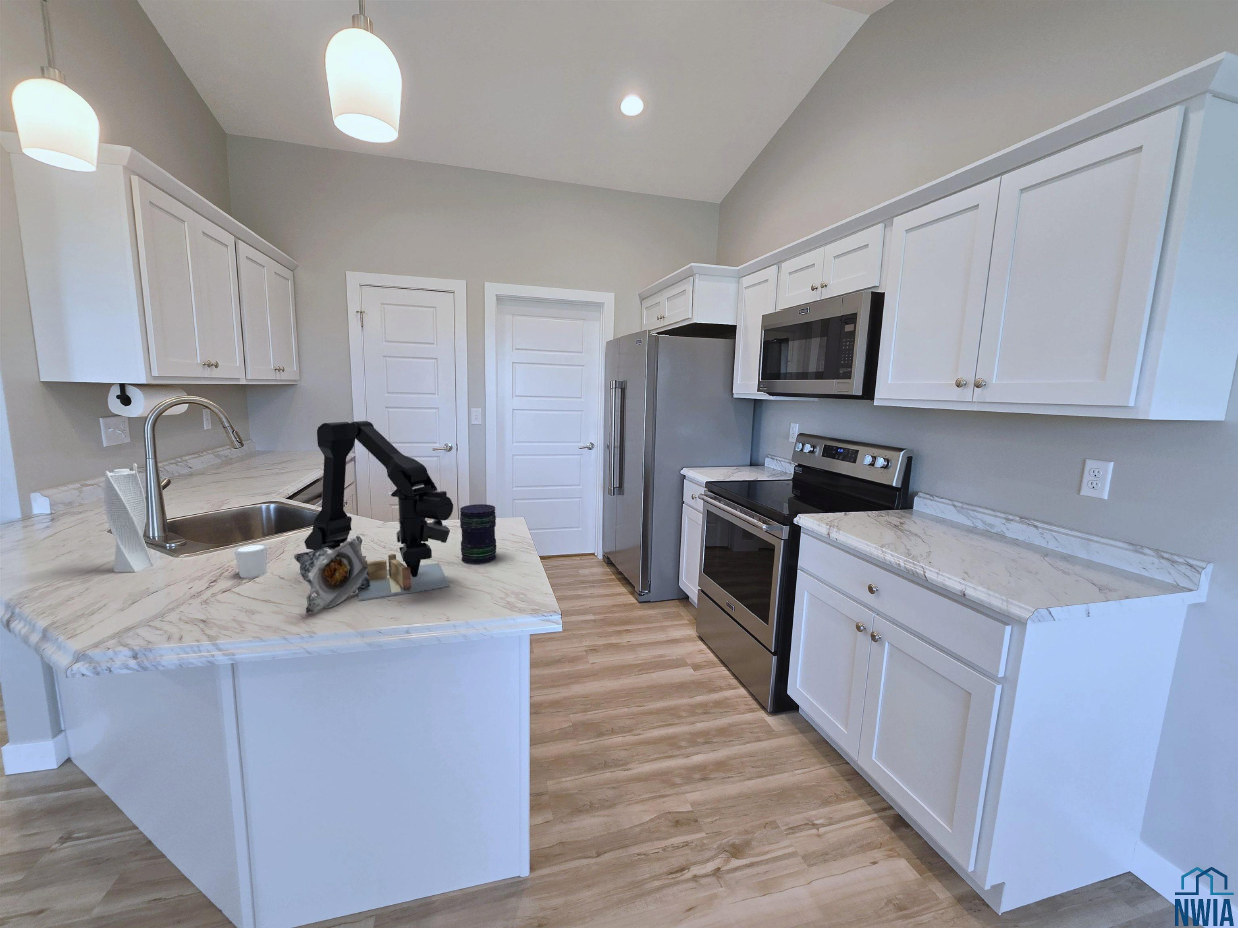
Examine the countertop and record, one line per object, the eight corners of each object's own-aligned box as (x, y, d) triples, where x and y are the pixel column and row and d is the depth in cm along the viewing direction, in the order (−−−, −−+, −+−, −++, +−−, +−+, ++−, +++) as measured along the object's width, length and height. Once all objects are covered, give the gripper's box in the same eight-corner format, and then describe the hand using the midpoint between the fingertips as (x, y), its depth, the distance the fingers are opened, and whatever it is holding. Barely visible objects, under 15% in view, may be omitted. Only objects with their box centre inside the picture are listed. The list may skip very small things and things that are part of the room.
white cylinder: (275, 571, 132) (273, 546, 131) (247, 580, 125) (244, 553, 124) (259, 567, 134) (257, 542, 133) (230, 575, 128) (228, 549, 127)
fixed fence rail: (360, 582, 125) (359, 563, 124) (360, 579, 126) (359, 560, 125) (387, 578, 127) (386, 559, 127) (387, 576, 129) (386, 557, 128)
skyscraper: (162, 563, 136) (150, 461, 132) (137, 573, 128) (123, 465, 124) (132, 563, 135) (119, 461, 131) (105, 573, 128) (90, 465, 124)
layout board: (358, 601, 115) (358, 599, 115) (358, 574, 130) (357, 573, 130) (449, 586, 124) (449, 585, 124) (438, 563, 140) (438, 562, 140)
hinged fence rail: (388, 575, 129) (387, 555, 128) (395, 573, 130) (394, 553, 129) (404, 590, 120) (403, 568, 119) (412, 588, 121) (411, 566, 120)
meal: (357, 585, 122) (351, 534, 120) (371, 588, 121) (365, 535, 119) (300, 612, 108) (293, 555, 106) (315, 615, 107) (308, 557, 105)
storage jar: (475, 567, 138) (474, 514, 136) (453, 559, 144) (452, 508, 141) (503, 557, 146) (503, 507, 143) (482, 550, 151) (481, 502, 149)
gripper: (453, 521, 117) (455, 584, 120) (440, 504, 133) (442, 560, 136) (401, 526, 112) (404, 592, 114) (395, 508, 128) (398, 566, 131)
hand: (414, 576), depth 124 cm, fingers closed
